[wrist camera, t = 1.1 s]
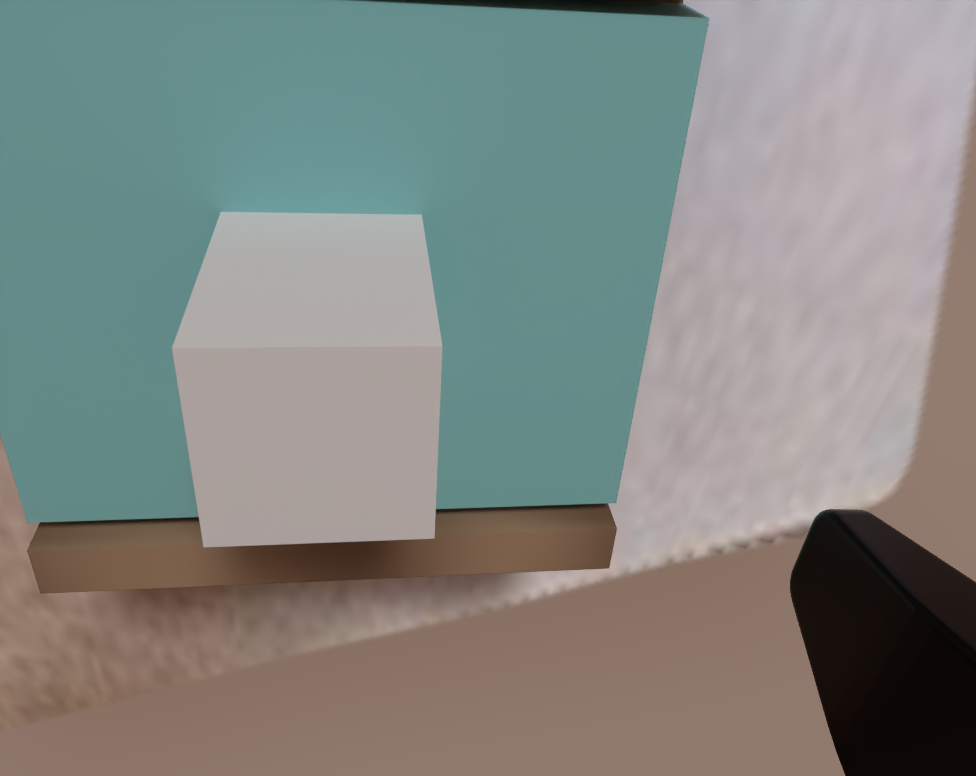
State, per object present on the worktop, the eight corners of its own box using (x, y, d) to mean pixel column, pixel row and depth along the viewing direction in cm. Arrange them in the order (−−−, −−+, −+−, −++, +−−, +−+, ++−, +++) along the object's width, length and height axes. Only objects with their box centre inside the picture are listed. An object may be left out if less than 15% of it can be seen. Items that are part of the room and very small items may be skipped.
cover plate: (47, 480, 16) (-63, 713, 12) (-96, -36, 12) (-367, 46, 7) (601, 465, 18) (678, 668, 14) (683, 3, 13) (840, 92, 9)
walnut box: (111, 423, 21) (40, 593, 16) (-17, -171, 14) (-198, -168, 9) (557, 415, 22) (609, 568, 18) (629, -124, 16) (740, -102, 11)
